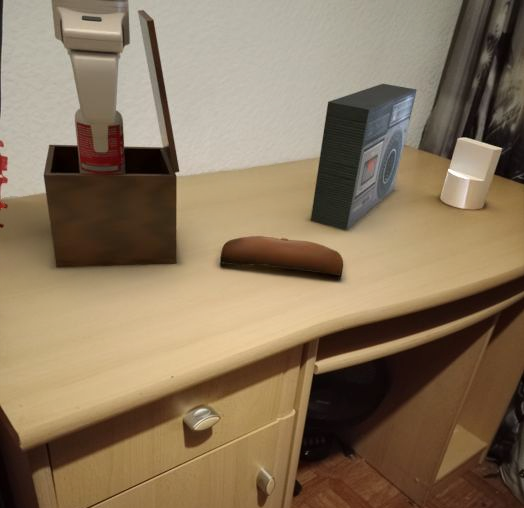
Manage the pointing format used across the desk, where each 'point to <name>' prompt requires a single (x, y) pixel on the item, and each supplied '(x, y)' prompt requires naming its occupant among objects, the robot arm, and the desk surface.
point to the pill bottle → (100, 160)
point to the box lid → (158, 87)
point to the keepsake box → (112, 209)
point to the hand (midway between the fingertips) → (100, 143)
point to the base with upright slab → (470, 174)
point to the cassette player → (360, 153)
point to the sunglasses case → (282, 254)
